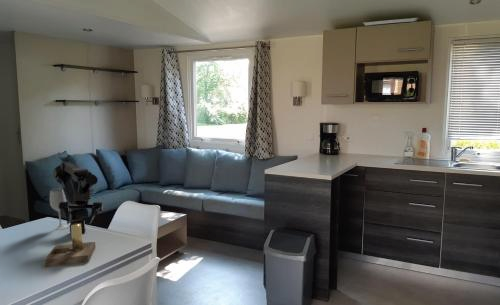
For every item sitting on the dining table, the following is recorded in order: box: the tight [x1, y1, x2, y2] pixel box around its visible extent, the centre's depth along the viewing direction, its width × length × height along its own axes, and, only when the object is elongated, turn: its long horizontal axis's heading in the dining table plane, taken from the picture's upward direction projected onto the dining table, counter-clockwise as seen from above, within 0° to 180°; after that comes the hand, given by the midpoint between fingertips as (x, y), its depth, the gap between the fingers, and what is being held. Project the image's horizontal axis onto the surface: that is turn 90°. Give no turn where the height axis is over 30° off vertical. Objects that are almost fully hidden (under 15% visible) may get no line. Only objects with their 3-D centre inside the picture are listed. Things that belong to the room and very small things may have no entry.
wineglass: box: [49, 188, 69, 231], centre depth 196 cm, size 8×8×21 cm
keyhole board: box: [44, 241, 96, 267], centre depth 158 cm, size 16×16×3 cm
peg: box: [70, 223, 84, 251], centre depth 158 cm, size 4×4×14 cm
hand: (78, 224), depth 169 cm, fingers open, 9 cm apart
